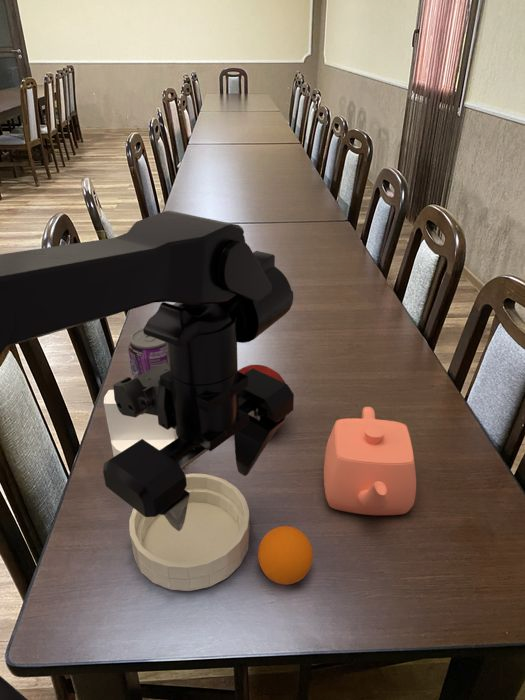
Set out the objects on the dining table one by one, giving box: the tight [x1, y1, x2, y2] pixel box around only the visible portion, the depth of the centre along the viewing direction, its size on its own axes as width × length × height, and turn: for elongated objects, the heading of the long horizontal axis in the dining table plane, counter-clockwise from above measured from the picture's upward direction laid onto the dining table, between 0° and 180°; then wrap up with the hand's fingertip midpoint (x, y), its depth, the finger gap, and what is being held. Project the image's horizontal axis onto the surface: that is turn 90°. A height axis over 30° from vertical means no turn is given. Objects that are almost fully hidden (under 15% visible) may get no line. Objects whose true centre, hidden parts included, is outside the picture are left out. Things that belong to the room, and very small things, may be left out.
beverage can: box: [127, 327, 168, 379], centre depth 85 cm, size 7×7×12 cm
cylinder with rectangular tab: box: [103, 389, 178, 457], centre depth 72 cm, size 9×9×12 cm
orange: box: [257, 525, 314, 585], centre depth 59 cm, size 6×6×6 cm
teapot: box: [323, 406, 417, 516], centre depth 68 cm, size 12×18×10 cm, turn 175°
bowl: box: [128, 472, 251, 592], centre depth 63 cm, size 14×14×4 cm
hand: (211, 498), depth 53 cm, fingers open, 9 cm apart
